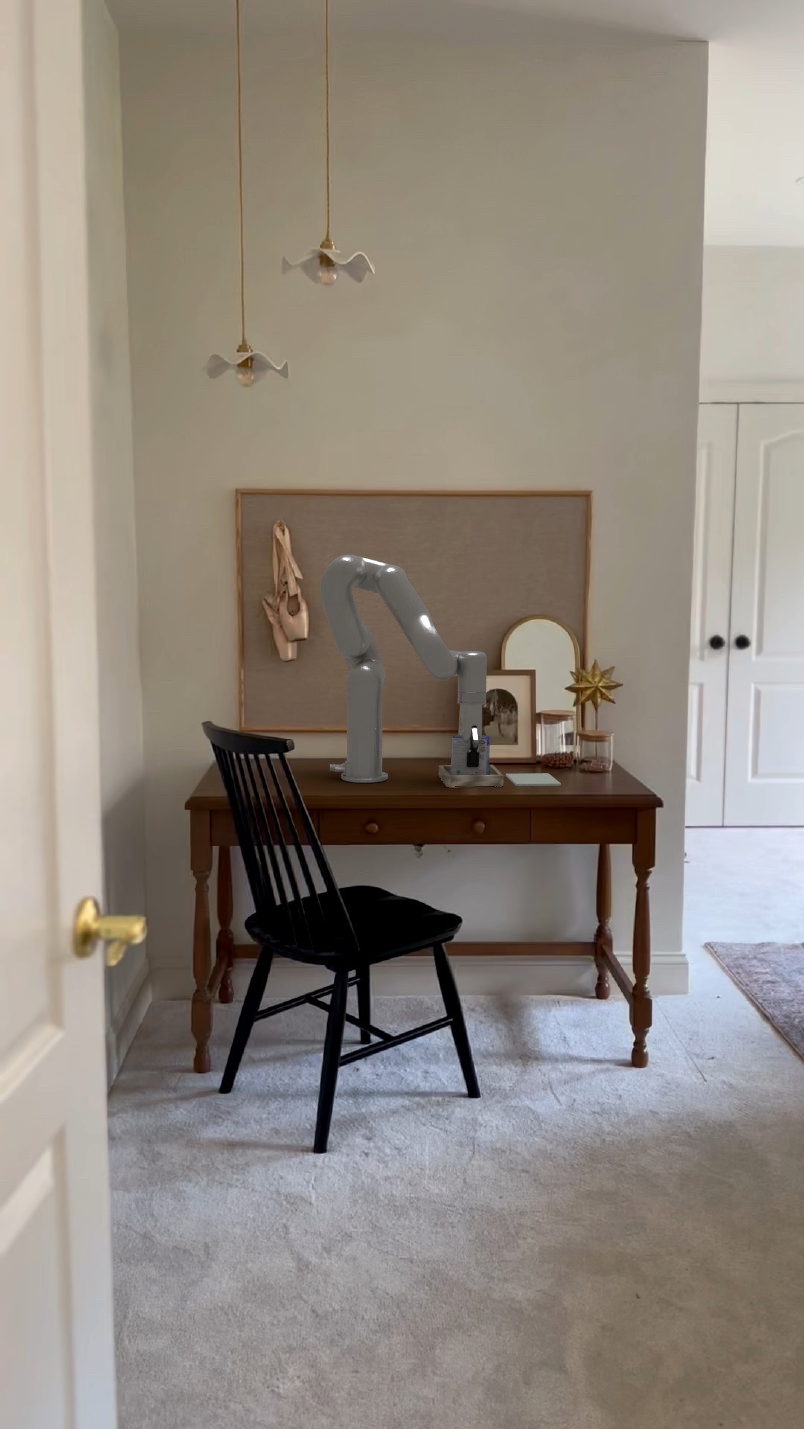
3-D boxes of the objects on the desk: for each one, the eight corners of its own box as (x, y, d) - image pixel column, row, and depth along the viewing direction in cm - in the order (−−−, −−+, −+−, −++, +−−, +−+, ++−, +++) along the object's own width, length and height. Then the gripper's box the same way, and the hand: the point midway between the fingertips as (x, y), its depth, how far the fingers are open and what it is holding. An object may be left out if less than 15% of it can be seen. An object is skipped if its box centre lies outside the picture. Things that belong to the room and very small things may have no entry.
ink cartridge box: (489, 780, 295) (490, 727, 293) (487, 784, 290) (488, 730, 287) (453, 778, 297) (454, 725, 295) (450, 782, 292) (451, 728, 289)
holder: (446, 787, 285) (446, 776, 285) (438, 776, 300) (438, 765, 299) (503, 786, 287) (503, 775, 286) (492, 775, 301) (492, 764, 301)
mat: (516, 786, 287) (516, 784, 287) (505, 775, 301) (505, 773, 301) (560, 785, 289) (560, 783, 289) (548, 775, 302) (548, 773, 302)
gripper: (452, 694, 298) (451, 758, 301) (462, 702, 281) (461, 770, 284) (480, 694, 299) (478, 758, 302) (491, 702, 282) (490, 770, 284)
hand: (470, 763), depth 293 cm, fingers closed on ink cartridge box, 6 cm apart
